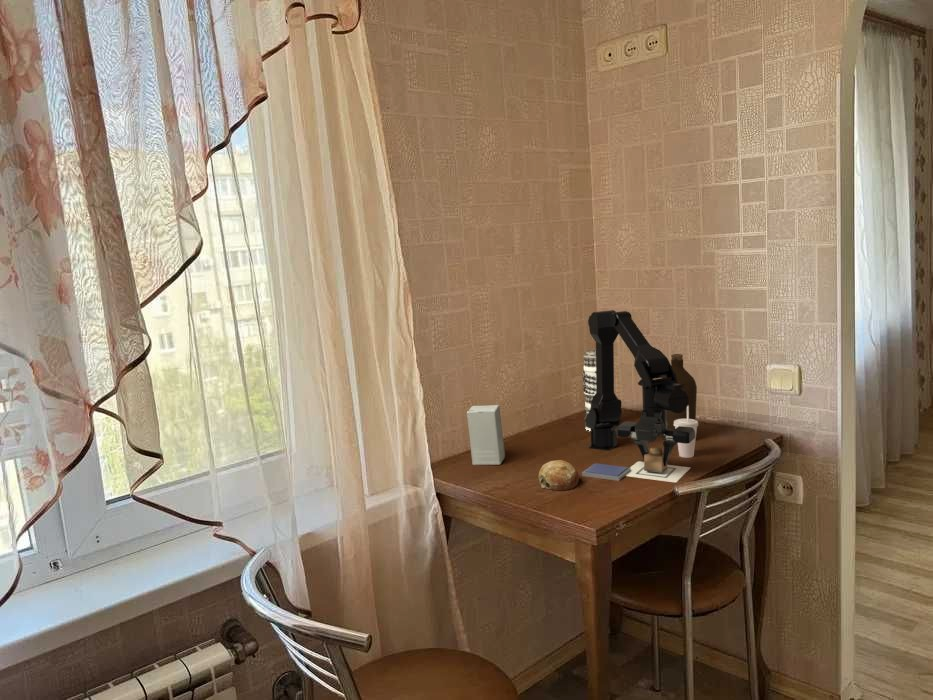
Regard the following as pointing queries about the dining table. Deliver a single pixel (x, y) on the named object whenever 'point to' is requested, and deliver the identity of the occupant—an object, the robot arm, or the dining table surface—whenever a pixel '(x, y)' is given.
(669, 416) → the olive oil
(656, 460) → the stamp
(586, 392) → the decorative candle
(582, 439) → the dining table surface
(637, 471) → the sheet
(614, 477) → the ink pad
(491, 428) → the skincare box
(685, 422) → the smoothie
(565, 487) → the bread roll
